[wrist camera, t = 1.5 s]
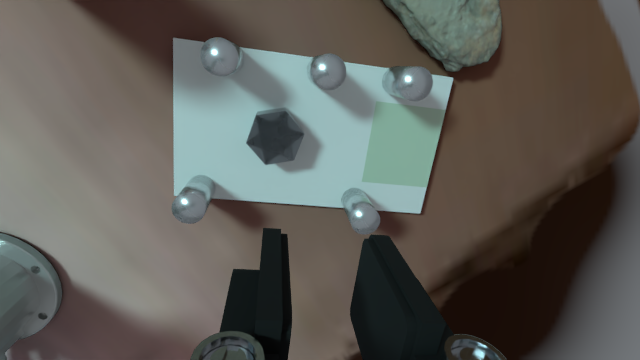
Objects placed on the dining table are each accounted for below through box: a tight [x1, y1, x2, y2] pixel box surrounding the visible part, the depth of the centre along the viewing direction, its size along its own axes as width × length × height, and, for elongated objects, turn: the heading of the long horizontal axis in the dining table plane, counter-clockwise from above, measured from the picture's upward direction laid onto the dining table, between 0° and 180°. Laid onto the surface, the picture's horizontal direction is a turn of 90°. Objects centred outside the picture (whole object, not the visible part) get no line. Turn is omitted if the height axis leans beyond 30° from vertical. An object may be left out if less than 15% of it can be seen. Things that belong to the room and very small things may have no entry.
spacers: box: [172, 37, 433, 234], centre depth 29 cm, size 15×20×5 cm
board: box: [173, 38, 453, 214], centre depth 32 cm, size 14×25×1 cm, turn 82°
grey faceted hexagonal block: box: [246, 107, 304, 165], centre depth 30 cm, size 4×5×2 cm
